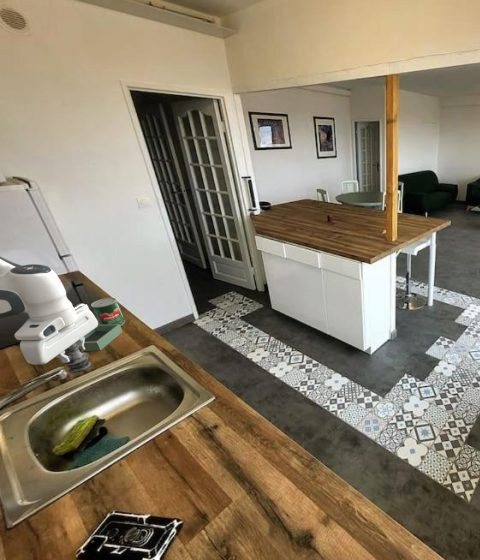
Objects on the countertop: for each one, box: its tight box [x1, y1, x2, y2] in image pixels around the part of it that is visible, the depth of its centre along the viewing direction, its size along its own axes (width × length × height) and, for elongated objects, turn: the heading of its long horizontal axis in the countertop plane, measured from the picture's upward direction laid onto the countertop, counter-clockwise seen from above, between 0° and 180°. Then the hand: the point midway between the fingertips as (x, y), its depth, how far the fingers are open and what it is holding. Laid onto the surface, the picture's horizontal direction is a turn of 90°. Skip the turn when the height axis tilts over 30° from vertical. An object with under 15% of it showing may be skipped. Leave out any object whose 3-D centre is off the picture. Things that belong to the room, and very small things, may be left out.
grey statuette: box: [62, 343, 92, 374], centre depth 95 cm, size 6×6×12 cm
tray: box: [75, 324, 123, 352], centre depth 120 cm, size 12×20×4 cm, turn 95°
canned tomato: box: [90, 297, 126, 326], centre depth 129 cm, size 8×8×11 cm
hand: (74, 356), depth 95 cm, fingers closed on grey statuette, 3 cm apart
